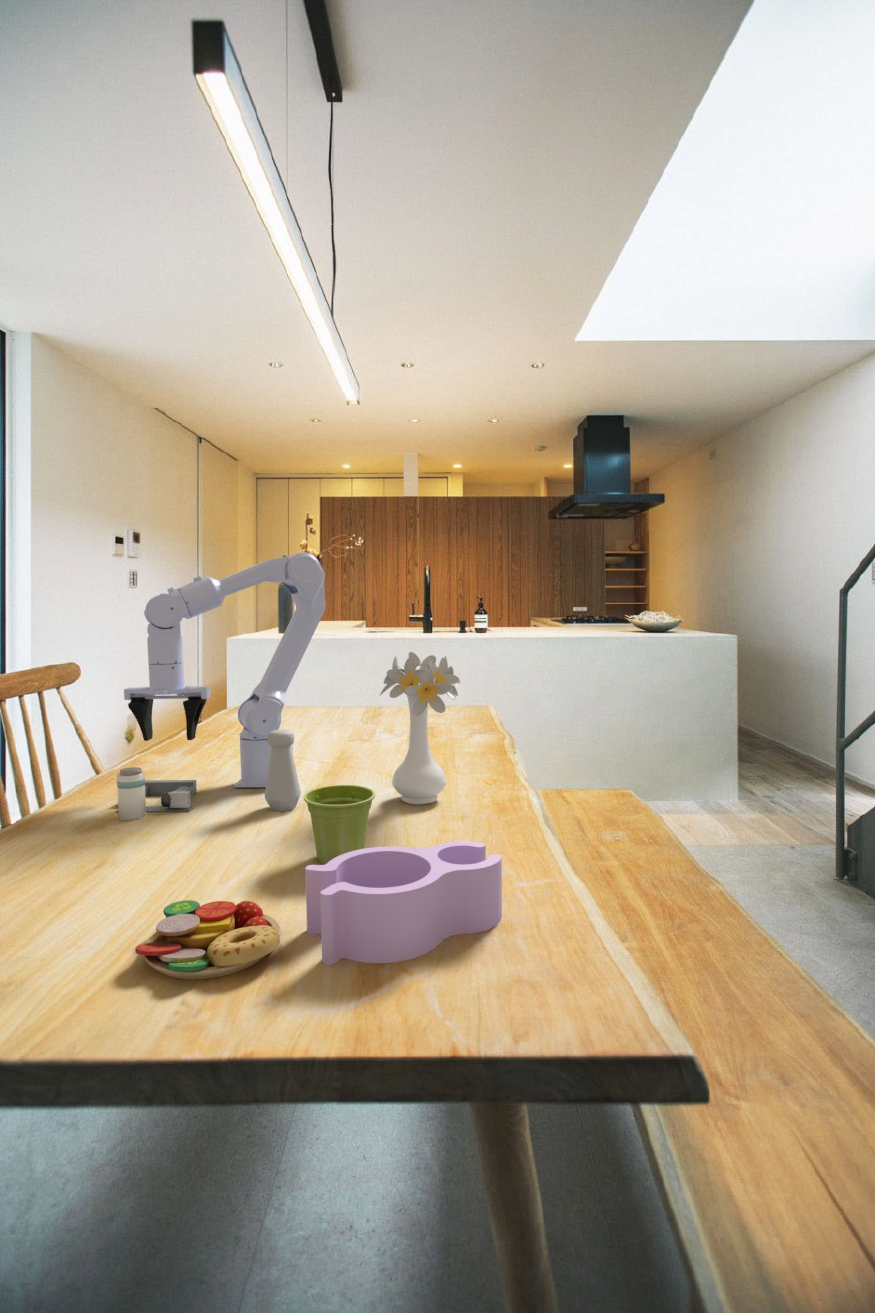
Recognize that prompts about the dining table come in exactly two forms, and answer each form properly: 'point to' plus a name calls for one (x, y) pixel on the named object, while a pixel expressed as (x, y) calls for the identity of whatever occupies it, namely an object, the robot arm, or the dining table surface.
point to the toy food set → (210, 939)
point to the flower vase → (420, 724)
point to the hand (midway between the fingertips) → (169, 739)
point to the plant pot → (339, 818)
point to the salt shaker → (282, 773)
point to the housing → (168, 786)
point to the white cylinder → (131, 793)
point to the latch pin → (176, 799)
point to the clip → (401, 900)
